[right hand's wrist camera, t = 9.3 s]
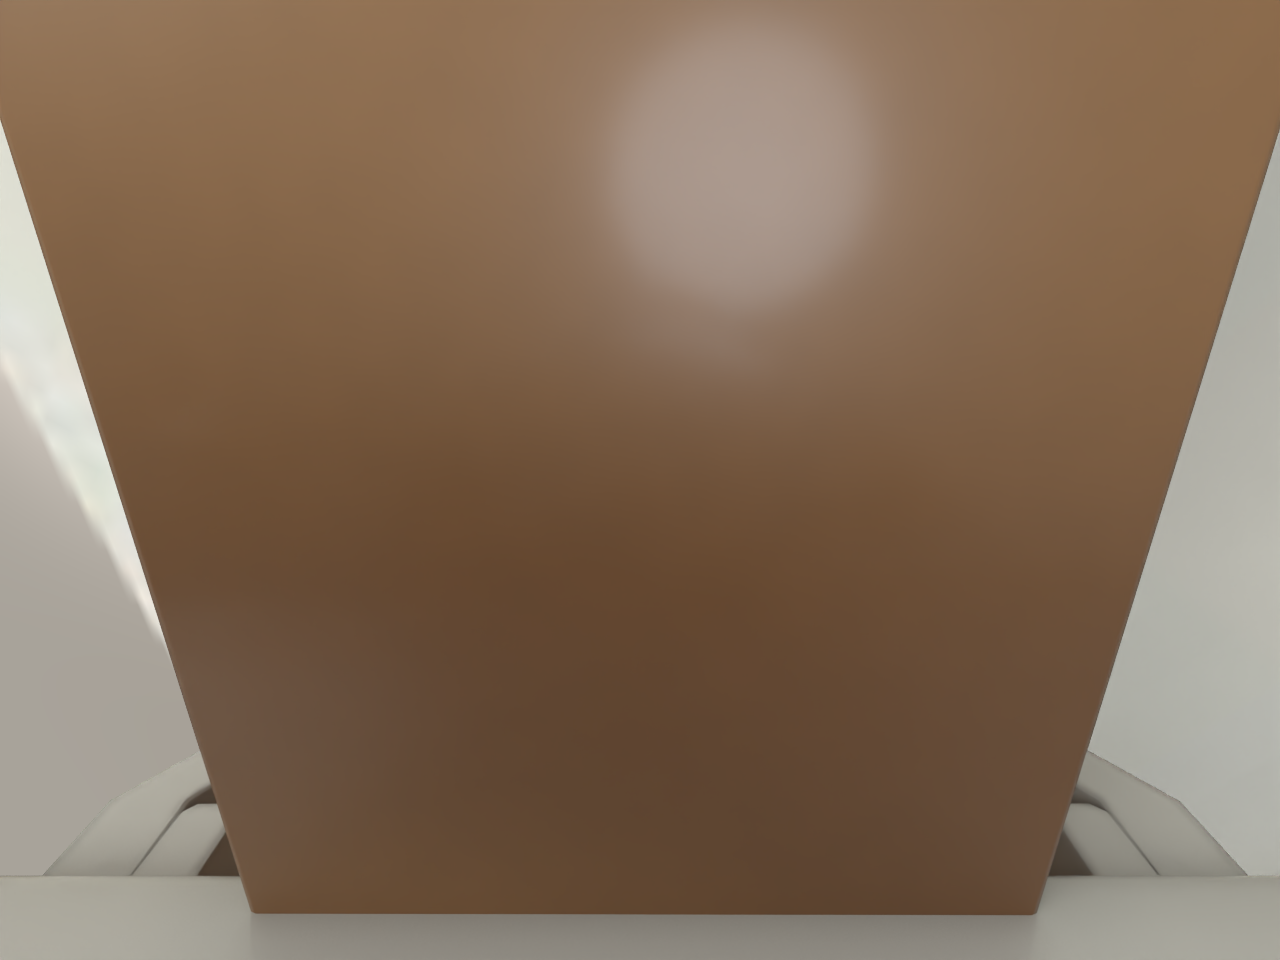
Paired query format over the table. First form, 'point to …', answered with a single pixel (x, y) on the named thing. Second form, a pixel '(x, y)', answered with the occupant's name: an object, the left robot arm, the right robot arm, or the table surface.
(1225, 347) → the table surface
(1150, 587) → the table surface
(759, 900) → the box
